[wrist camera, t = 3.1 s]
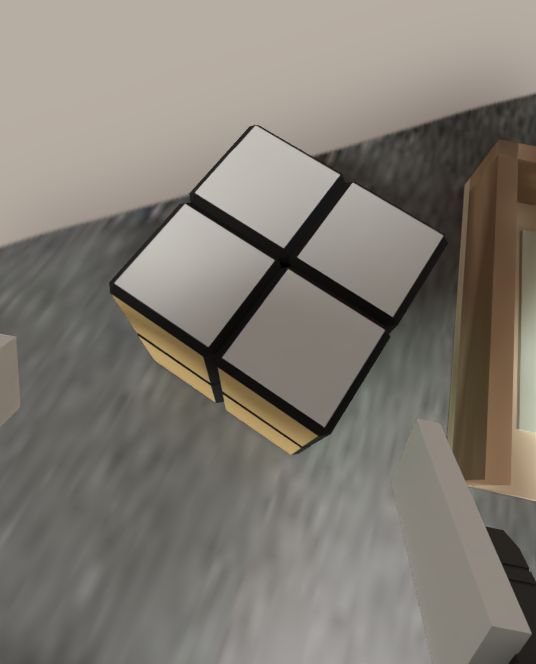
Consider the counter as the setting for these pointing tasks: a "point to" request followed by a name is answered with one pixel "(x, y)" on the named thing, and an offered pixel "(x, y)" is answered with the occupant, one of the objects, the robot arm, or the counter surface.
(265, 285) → the puzzle cube
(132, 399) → the counter surface
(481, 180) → the walled corner board
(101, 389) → the counter surface
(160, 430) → the counter surface
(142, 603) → the counter surface
